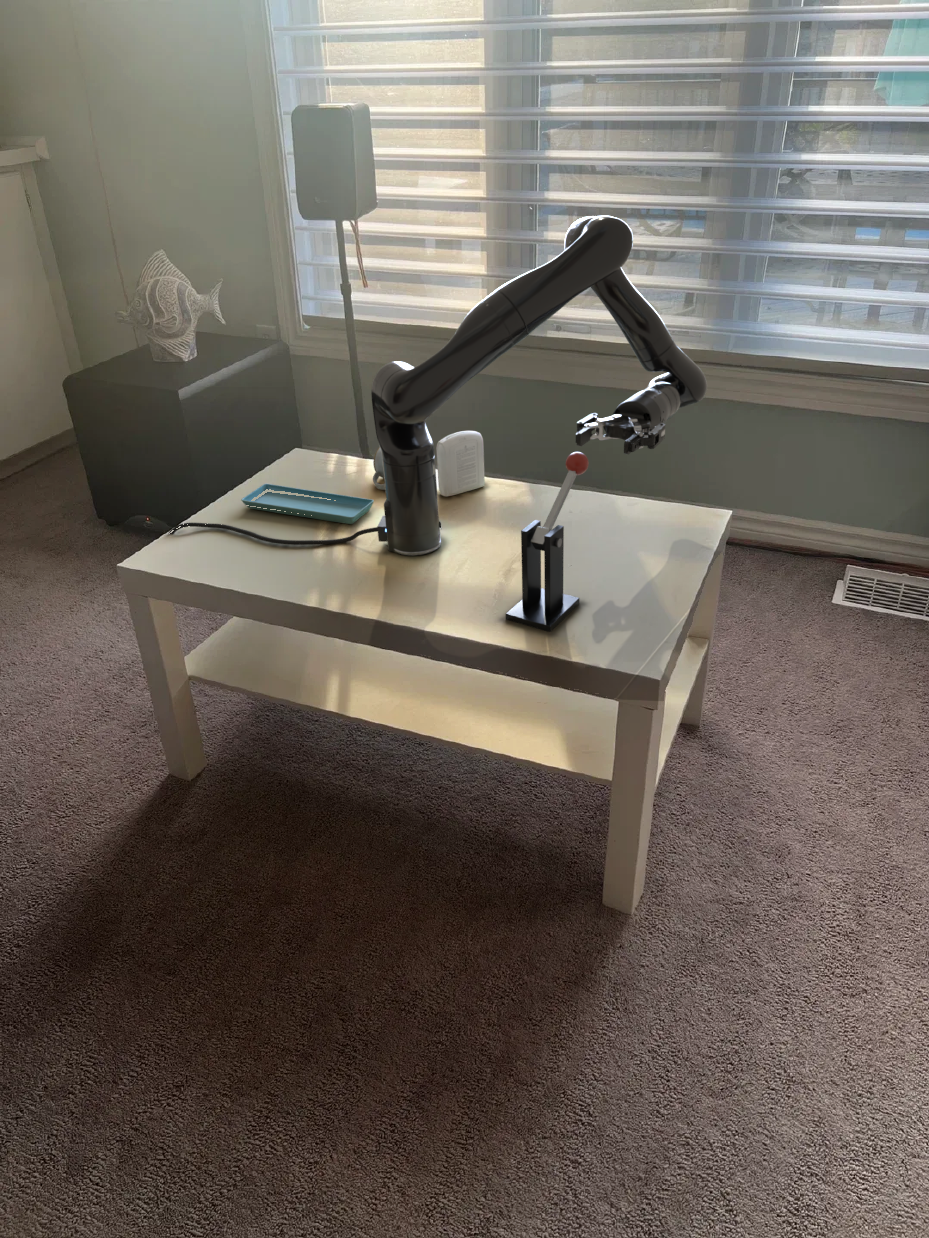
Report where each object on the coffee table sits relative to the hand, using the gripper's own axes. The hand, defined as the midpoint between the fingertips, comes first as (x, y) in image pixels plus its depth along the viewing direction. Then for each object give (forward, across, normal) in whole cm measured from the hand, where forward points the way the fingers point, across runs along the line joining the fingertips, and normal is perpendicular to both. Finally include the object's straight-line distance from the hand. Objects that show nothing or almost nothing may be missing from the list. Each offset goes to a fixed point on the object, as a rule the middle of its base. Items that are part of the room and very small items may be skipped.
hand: (602, 444), depth 150 cm
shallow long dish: (+7, -61, +22) cm, 65 cm away
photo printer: (-16, -39, +22) cm, 47 cm away
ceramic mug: (-13, -54, +22) cm, 60 cm away
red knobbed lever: (+13, 0, +6) cm, 14 cm away
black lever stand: (+20, 0, +21) cm, 29 cm away
